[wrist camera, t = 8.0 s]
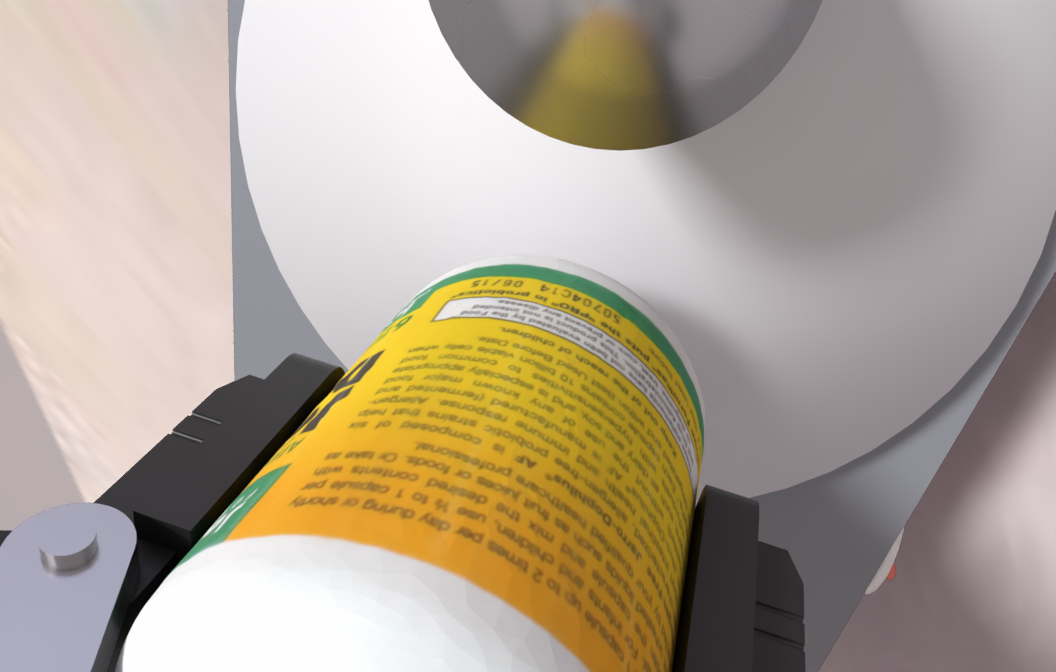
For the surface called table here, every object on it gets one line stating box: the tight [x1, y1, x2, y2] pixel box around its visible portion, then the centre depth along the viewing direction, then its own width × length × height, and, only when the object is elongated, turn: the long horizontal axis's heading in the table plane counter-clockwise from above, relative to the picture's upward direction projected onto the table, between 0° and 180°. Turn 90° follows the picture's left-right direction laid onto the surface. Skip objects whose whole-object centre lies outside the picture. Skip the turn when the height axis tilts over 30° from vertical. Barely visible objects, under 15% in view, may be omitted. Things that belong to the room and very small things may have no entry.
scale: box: [228, 0, 1056, 672], centre depth 15 cm, size 18×14×4 cm
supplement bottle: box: [115, 254, 705, 672], centre depth 10 cm, size 5×5×10 cm
